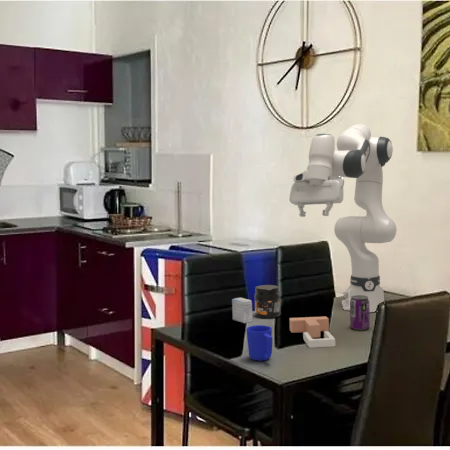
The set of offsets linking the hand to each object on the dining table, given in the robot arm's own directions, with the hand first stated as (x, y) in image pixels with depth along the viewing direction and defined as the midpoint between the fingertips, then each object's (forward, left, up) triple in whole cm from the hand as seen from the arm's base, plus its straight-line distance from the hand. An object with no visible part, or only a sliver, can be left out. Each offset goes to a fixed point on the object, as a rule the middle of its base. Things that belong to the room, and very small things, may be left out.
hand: (313, 216), depth 225 cm
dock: (+2, +1, -44) cm, 44 cm away
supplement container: (-39, -11, -44) cm, 60 cm away
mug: (+19, -21, -44) cm, 53 cm away
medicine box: (-33, -22, -44) cm, 60 cm away
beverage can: (-13, +20, -44) cm, 50 cm away
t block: (-10, +1, -44) cm, 45 cm away
